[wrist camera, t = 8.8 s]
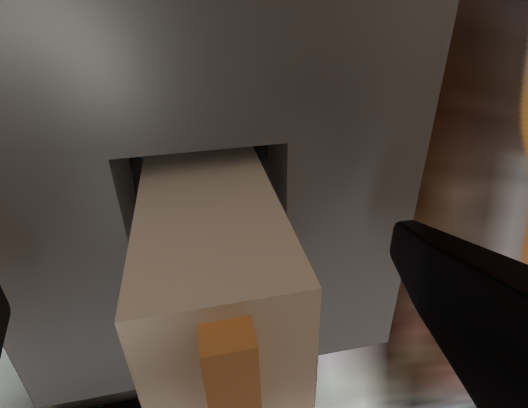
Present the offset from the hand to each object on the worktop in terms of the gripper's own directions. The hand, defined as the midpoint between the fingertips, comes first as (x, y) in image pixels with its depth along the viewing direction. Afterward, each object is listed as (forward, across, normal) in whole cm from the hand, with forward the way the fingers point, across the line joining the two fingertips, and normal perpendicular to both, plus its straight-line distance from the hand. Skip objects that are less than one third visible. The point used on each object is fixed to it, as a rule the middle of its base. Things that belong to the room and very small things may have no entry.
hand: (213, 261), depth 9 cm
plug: (+4, 0, 0) cm, 4 cm away
